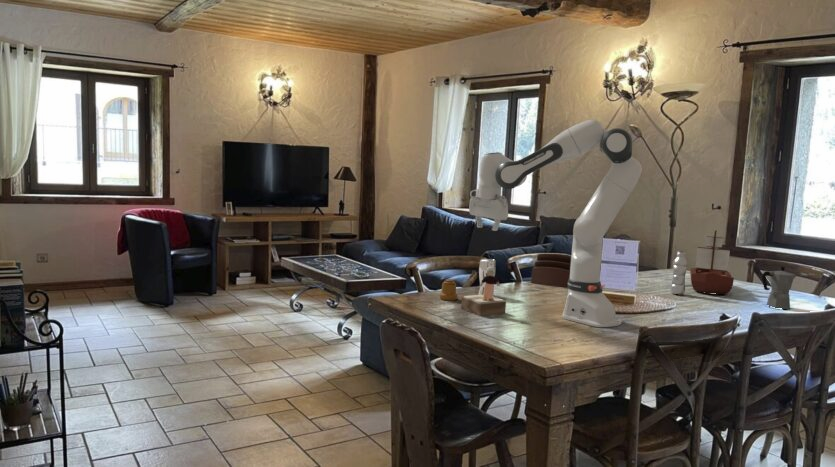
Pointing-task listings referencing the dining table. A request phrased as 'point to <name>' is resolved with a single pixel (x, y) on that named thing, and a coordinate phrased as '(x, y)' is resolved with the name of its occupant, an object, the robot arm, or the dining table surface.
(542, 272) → the letter holder
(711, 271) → the sailing ship
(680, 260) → the plastic bottle
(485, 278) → the grandmother figurine
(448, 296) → the ornamental finial
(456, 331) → the dining table surface
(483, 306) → the plinth
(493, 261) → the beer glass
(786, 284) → the coffeepot
